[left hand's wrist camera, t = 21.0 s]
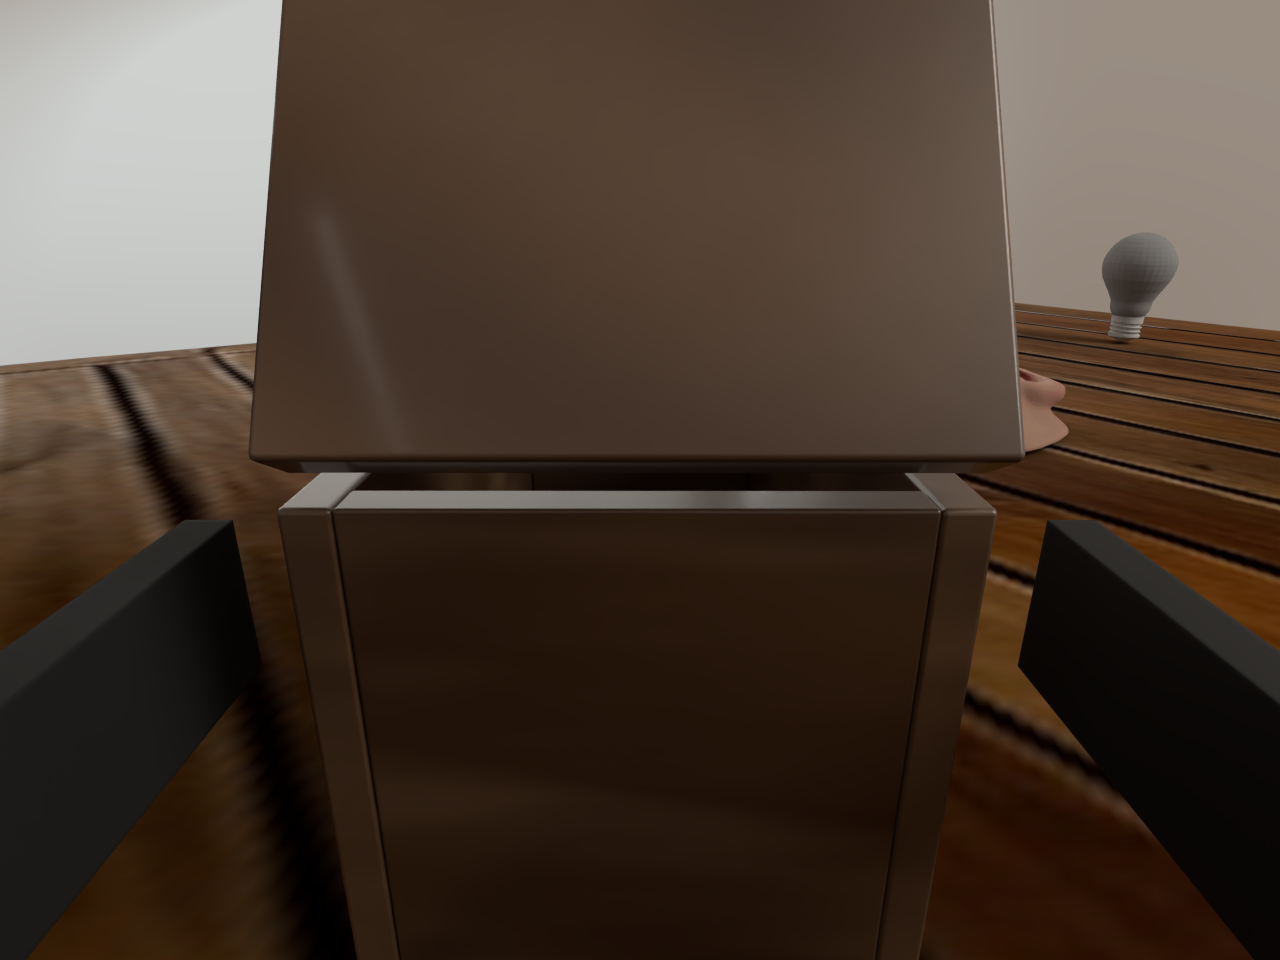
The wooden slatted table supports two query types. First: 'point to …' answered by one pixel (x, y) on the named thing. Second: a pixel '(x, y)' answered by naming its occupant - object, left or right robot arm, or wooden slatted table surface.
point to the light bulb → (1136, 279)
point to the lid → (637, 239)
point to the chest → (637, 706)
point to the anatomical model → (1040, 410)
